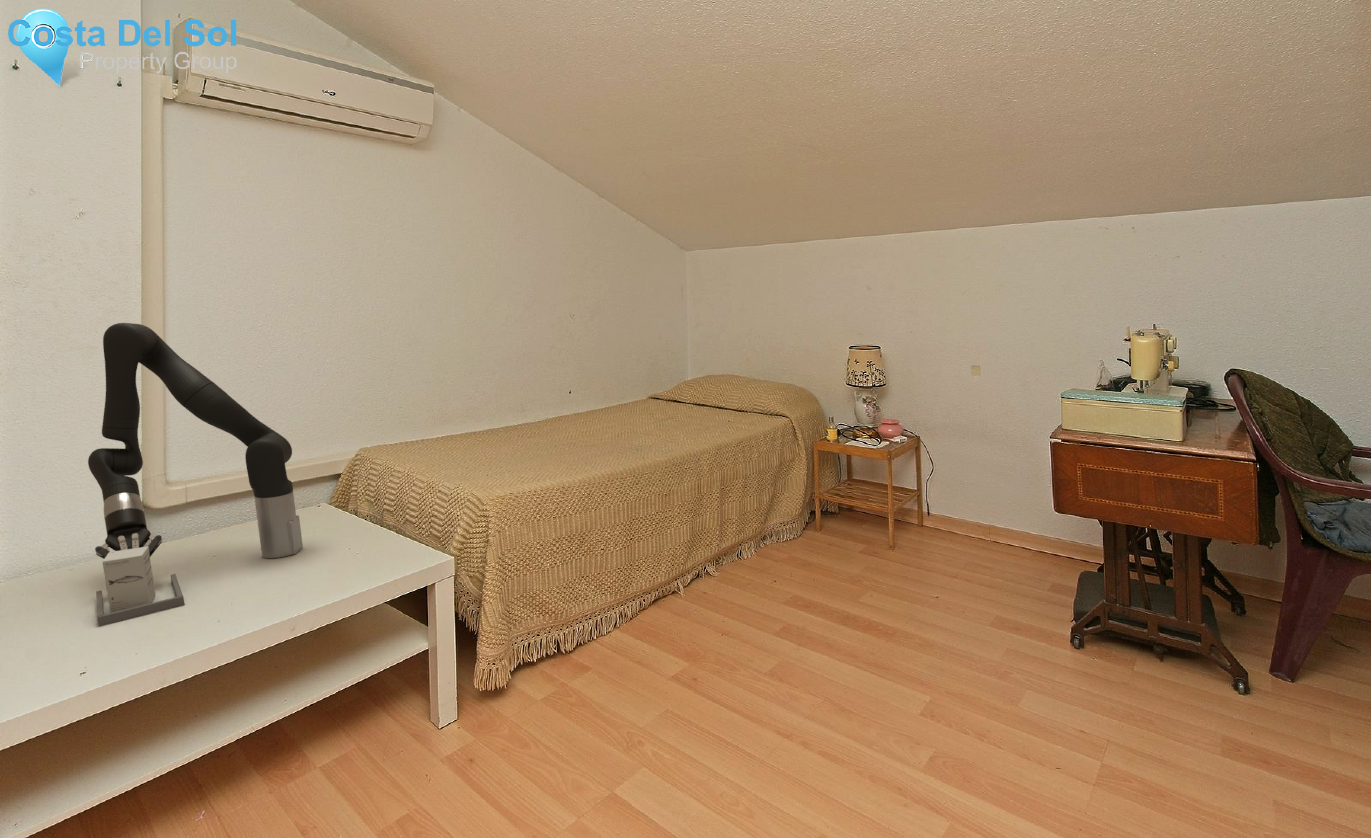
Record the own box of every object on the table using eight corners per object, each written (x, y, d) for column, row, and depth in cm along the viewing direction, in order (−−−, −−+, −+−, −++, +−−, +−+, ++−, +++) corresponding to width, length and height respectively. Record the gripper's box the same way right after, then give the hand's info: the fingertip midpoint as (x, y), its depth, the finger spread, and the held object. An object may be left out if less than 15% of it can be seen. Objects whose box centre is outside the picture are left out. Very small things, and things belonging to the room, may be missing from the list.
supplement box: (109, 614, 148) (100, 561, 146) (117, 602, 154) (108, 551, 152) (151, 606, 151) (142, 554, 149) (156, 595, 158) (148, 545, 156)
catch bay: (97, 599, 156) (96, 591, 155) (176, 581, 166) (175, 573, 165) (98, 626, 142) (97, 617, 142) (184, 604, 152) (183, 596, 152)
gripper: (87, 513, 156) (95, 577, 149) (157, 502, 164) (169, 562, 157) (90, 529, 161) (99, 592, 154) (159, 517, 169) (170, 576, 162)
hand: (134, 576), depth 156 cm, fingers closed
